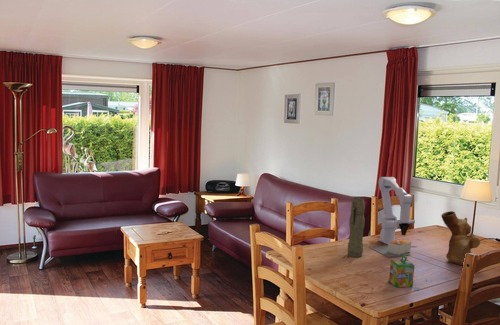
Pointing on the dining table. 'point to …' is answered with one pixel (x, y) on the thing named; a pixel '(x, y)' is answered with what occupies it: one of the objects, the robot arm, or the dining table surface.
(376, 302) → the dining table surface
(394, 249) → the small box
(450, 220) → the ceramic vessel
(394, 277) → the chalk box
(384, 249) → the mat
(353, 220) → the olive green carved pillar
